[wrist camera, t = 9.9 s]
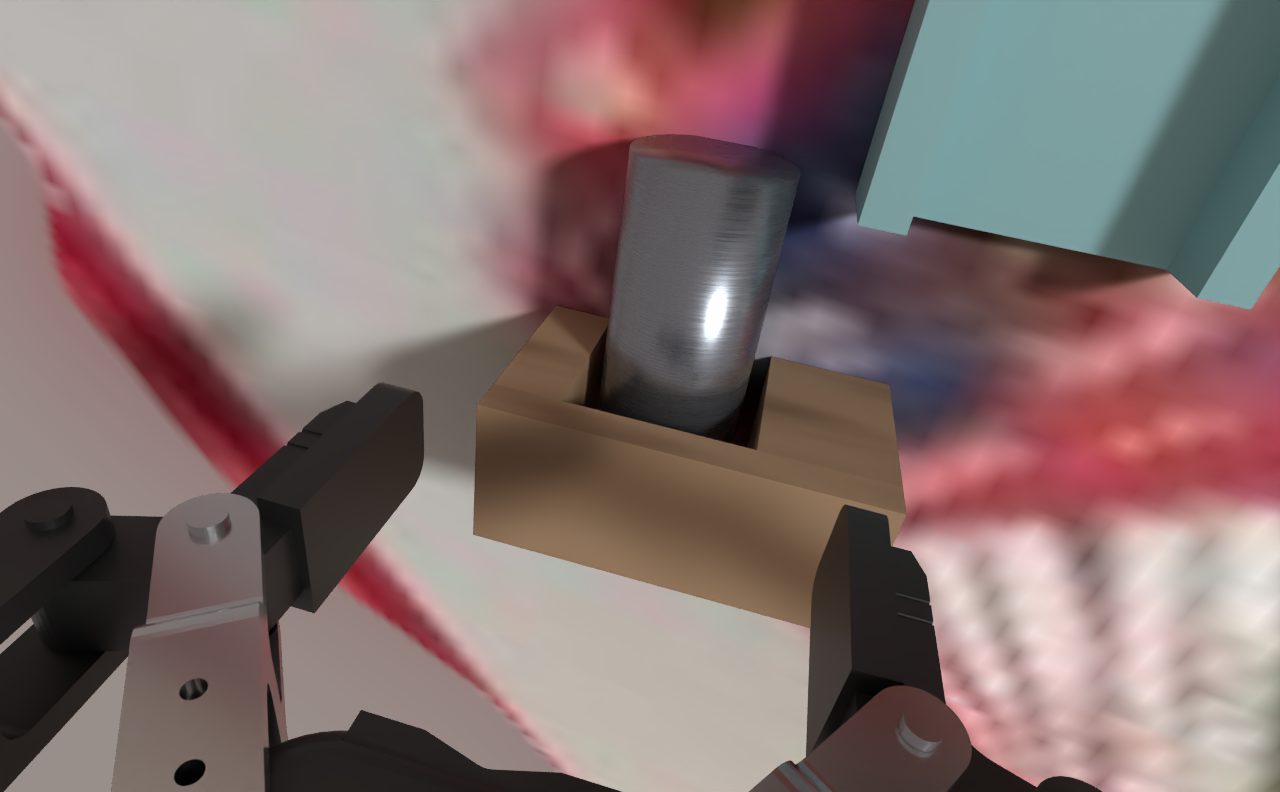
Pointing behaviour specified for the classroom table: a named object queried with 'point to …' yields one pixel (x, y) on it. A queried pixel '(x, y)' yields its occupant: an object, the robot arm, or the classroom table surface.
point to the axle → (693, 280)
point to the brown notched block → (680, 475)
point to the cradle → (1091, 132)
